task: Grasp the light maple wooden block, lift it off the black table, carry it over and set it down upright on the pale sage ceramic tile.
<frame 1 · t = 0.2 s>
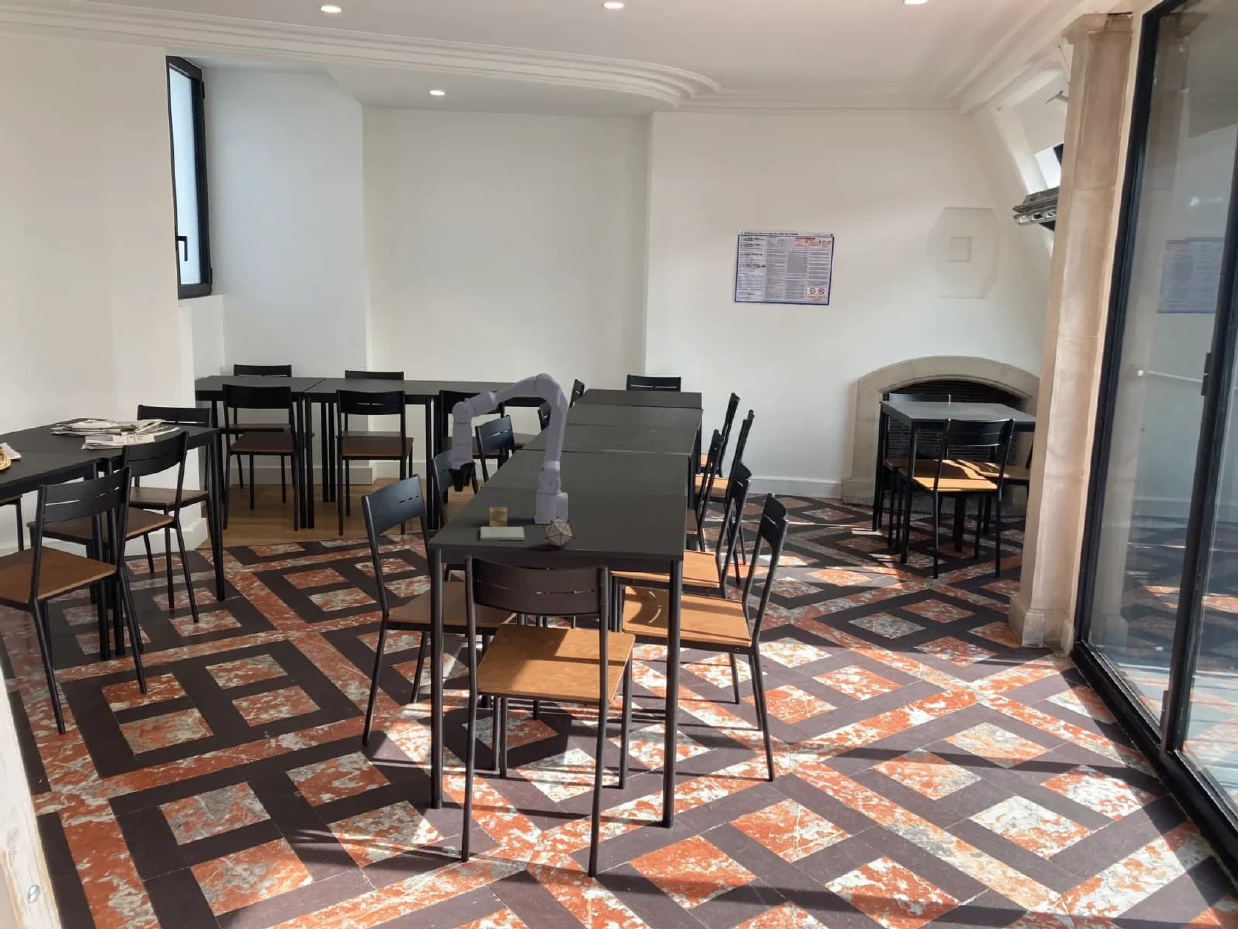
hand: (462, 488, 278), 10 cm above the table, tool pointing down, fingers open, 7 cm apart
game die: (558, 547, 257), on the table
sage tile: (502, 535, 266), on the table
maple block: (498, 525, 277), on the table
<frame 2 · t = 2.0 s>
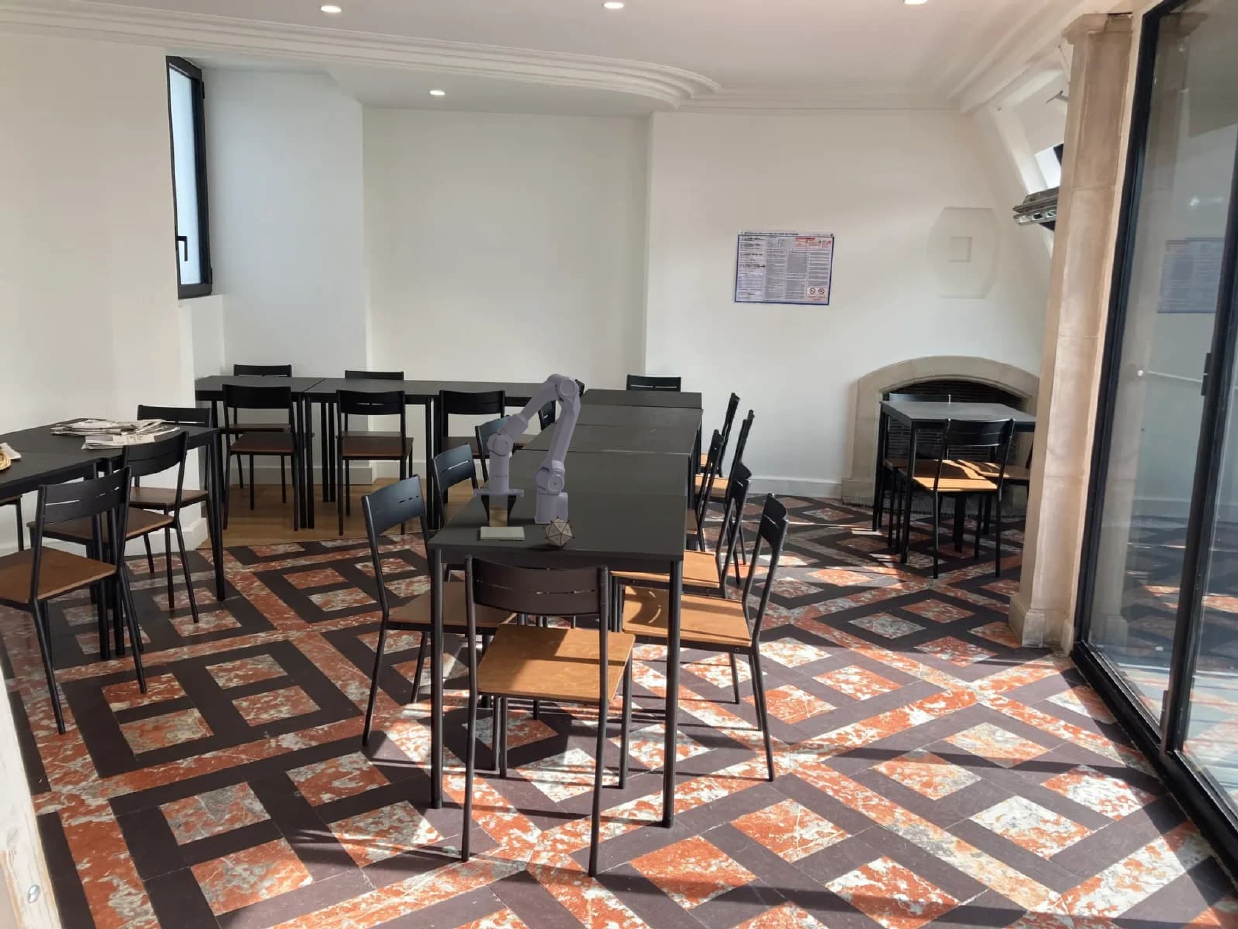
hand: (498, 520, 277), 1 cm above the table, tool pointing down, fingers closed on maple block, 5 cm apart
maple block: (498, 525, 277), on the table, touching gripper
everything else where it was.
when the fingers open (4 cm above the table, at t = 5.7 s): maple block drops 1 cm, resting on sage tile.
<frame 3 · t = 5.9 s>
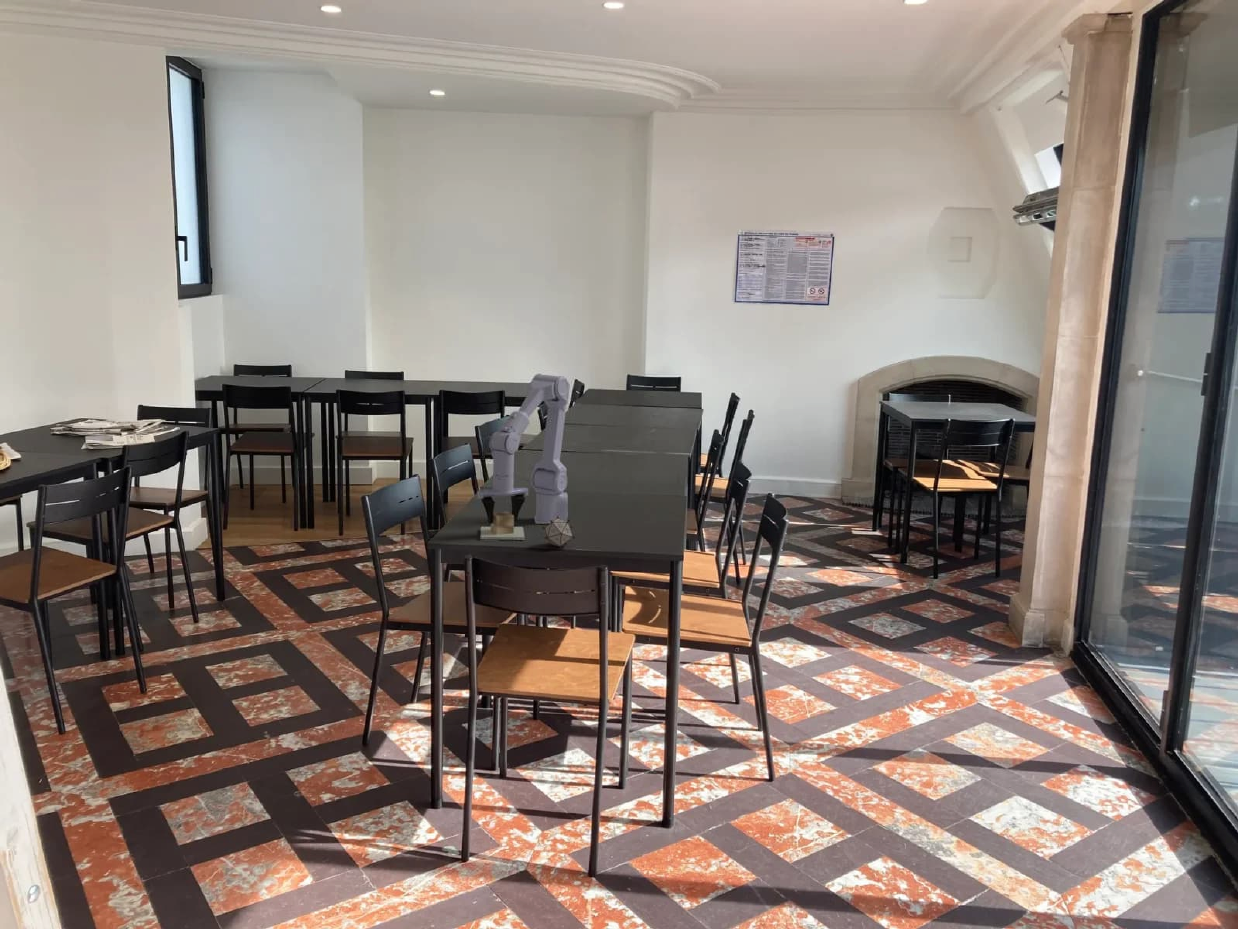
hand: (502, 521, 265), 4 cm above the table, tool pointing down, fingers open, 6 cm apart
maple block: (502, 531, 266), point 1 cm above the table, touching sage tile
everything else where it was.
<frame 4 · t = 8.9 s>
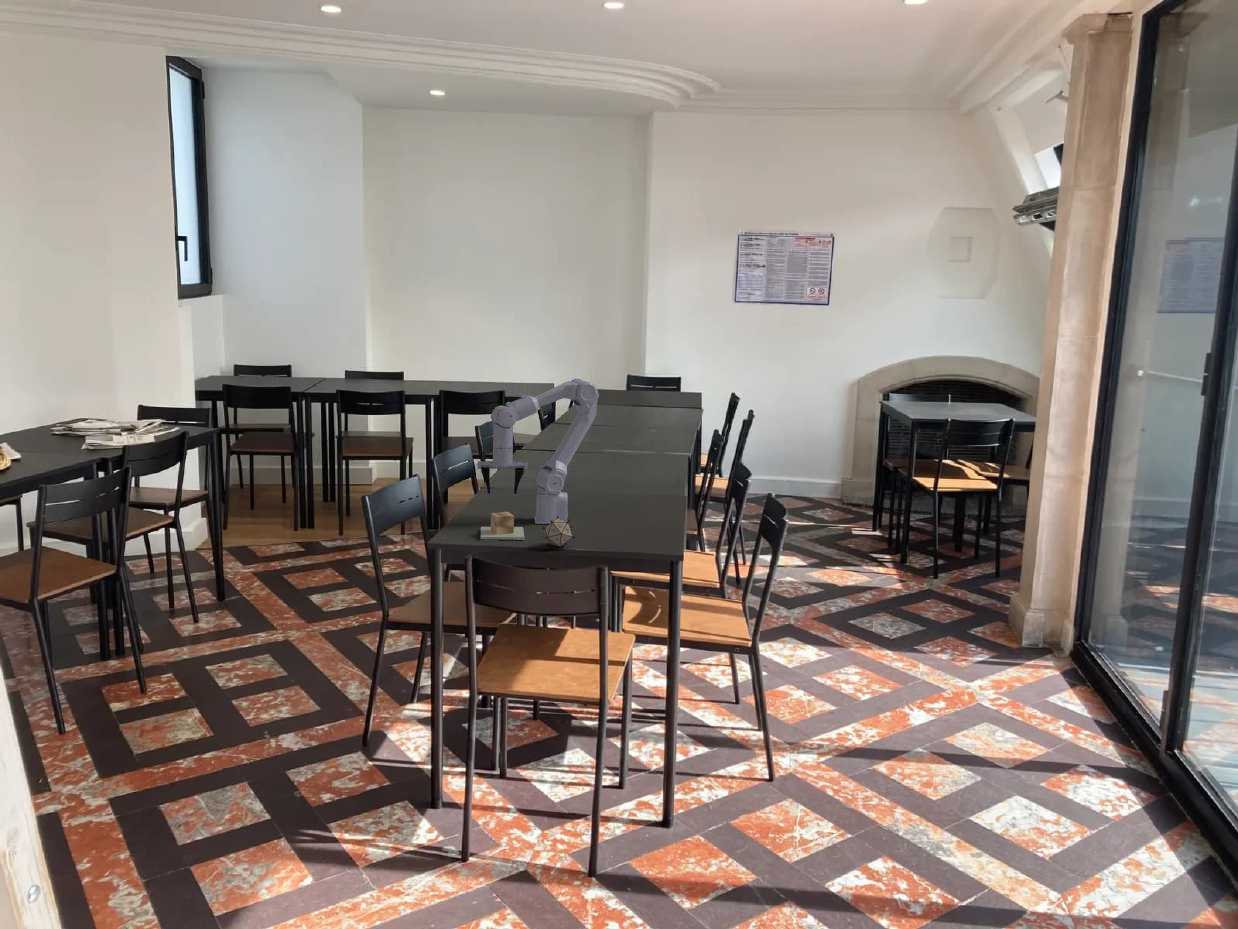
hand: (502, 493, 277), 9 cm above the table, tool pointing down, fingers open, 7 cm apart
nothing on the table moved.
at the end: maple block inside the target area on the sage tile (0.2 cm from its centre), point 1.0 cm above the sage tile's base; maple block tilted 0°; the gripper is holding nothing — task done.
